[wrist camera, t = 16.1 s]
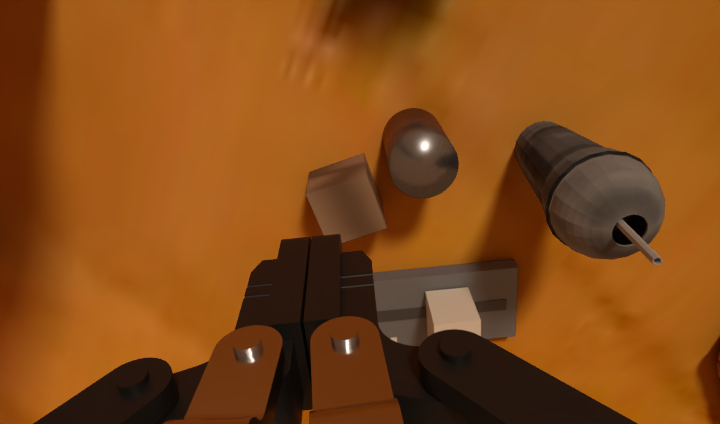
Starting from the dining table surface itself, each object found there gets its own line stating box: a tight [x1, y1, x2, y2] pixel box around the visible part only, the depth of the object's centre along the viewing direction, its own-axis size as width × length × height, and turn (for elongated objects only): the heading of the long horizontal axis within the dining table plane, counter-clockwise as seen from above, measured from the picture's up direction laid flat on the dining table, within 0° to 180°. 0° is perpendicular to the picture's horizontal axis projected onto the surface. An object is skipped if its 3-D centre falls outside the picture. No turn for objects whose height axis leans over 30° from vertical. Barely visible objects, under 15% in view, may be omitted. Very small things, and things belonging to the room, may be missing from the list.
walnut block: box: [306, 153, 387, 243], centre depth 44 cm, size 5×5×5 cm
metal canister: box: [383, 108, 459, 198], centre depth 41 cm, size 5×5×7 cm
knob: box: [425, 287, 481, 336], centre depth 48 cm, size 4×5×5 cm
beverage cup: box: [515, 121, 665, 265], centre depth 36 cm, size 7×7×20 cm
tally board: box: [373, 259, 518, 346], centre depth 51 cm, size 24×8×2 cm, turn 95°
